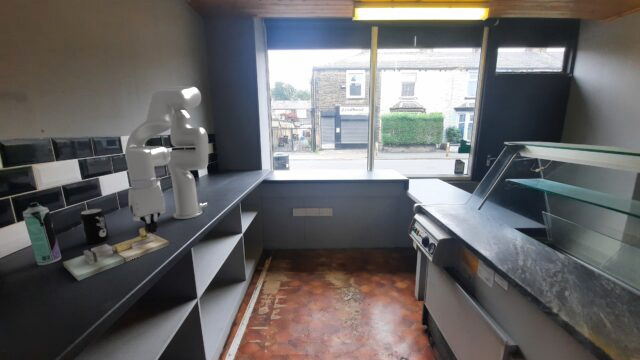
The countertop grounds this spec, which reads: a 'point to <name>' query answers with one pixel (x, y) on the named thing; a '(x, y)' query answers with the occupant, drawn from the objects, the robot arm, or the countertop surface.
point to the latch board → (111, 256)
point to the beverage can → (94, 226)
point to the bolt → (132, 241)
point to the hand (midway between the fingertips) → (152, 231)
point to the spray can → (41, 234)
